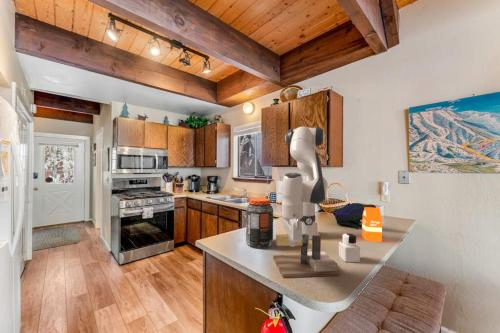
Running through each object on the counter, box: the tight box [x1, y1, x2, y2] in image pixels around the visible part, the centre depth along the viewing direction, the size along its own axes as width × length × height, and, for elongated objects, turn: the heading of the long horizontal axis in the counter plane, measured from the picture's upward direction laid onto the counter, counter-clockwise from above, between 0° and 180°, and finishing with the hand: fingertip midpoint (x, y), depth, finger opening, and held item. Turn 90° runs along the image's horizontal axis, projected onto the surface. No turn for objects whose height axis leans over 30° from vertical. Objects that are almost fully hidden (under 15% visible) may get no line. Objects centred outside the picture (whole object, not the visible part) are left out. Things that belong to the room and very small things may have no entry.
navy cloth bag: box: [332, 202, 377, 230], centre depth 162 cm, size 21×26×30 cm
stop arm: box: [275, 233, 310, 247], centre depth 96 cm, size 14×4×4 cm, turn 96°
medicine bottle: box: [338, 232, 361, 263], centre depth 105 cm, size 7×7×12 cm
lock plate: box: [272, 235, 341, 279], centre depth 96 cm, size 18×24×14 cm
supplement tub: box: [245, 197, 274, 249], centre depth 124 cm, size 16×16×26 cm
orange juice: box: [361, 207, 383, 243], centre depth 135 cm, size 8×9×20 cm
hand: (291, 245), depth 89 cm, fingers closed
